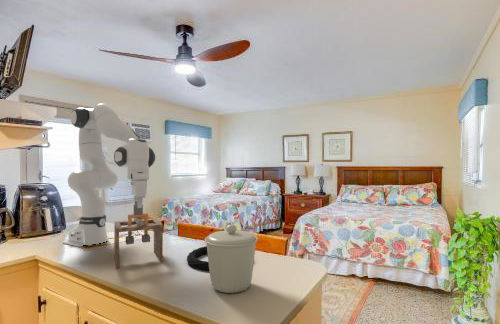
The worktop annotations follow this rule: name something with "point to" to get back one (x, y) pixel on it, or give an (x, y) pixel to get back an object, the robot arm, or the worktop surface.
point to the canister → (231, 259)
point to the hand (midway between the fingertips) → (138, 206)
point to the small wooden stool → (137, 221)
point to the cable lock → (195, 262)
